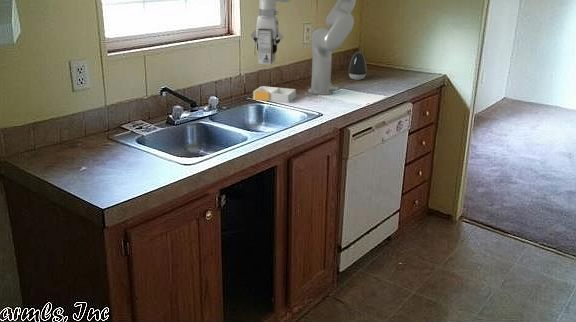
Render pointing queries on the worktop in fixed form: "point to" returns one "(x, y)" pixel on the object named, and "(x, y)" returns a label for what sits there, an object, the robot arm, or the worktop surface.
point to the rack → (274, 94)
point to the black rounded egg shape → (357, 67)
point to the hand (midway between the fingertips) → (266, 52)
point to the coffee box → (265, 47)
